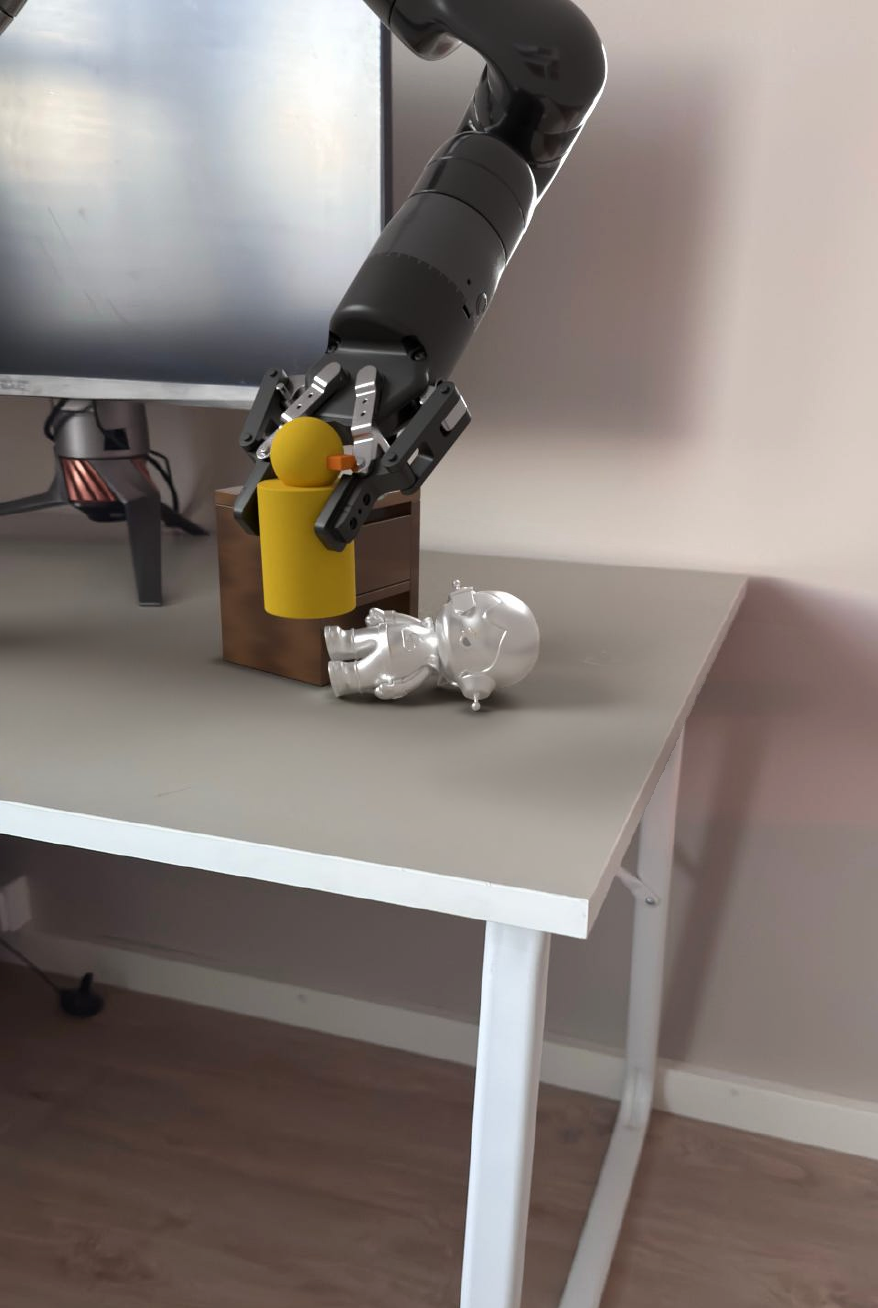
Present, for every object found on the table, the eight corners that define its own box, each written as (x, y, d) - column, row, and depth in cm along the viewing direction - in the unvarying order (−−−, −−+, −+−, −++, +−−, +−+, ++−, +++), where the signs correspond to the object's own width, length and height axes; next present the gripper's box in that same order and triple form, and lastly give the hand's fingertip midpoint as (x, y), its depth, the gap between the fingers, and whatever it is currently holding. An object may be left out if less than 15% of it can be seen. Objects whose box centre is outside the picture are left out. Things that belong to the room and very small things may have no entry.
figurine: (315, 577, 83) (525, 540, 82) (334, 628, 89) (529, 595, 89) (329, 711, 79) (550, 674, 78) (348, 753, 85) (552, 720, 85)
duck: (245, 610, 67) (232, 417, 63) (306, 592, 71) (297, 410, 66) (323, 625, 64) (314, 424, 59) (382, 606, 67) (378, 415, 63)
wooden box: (222, 660, 91) (214, 489, 86) (323, 627, 100) (321, 472, 95) (321, 686, 86) (318, 506, 81) (418, 649, 95) (421, 486, 90)
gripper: (295, 246, 69) (154, 476, 65) (500, 249, 62) (356, 509, 57) (352, 340, 75) (227, 555, 71) (545, 353, 68) (418, 595, 63)
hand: (285, 533), depth 64 cm, fingers closed on duck, 5 cm apart
